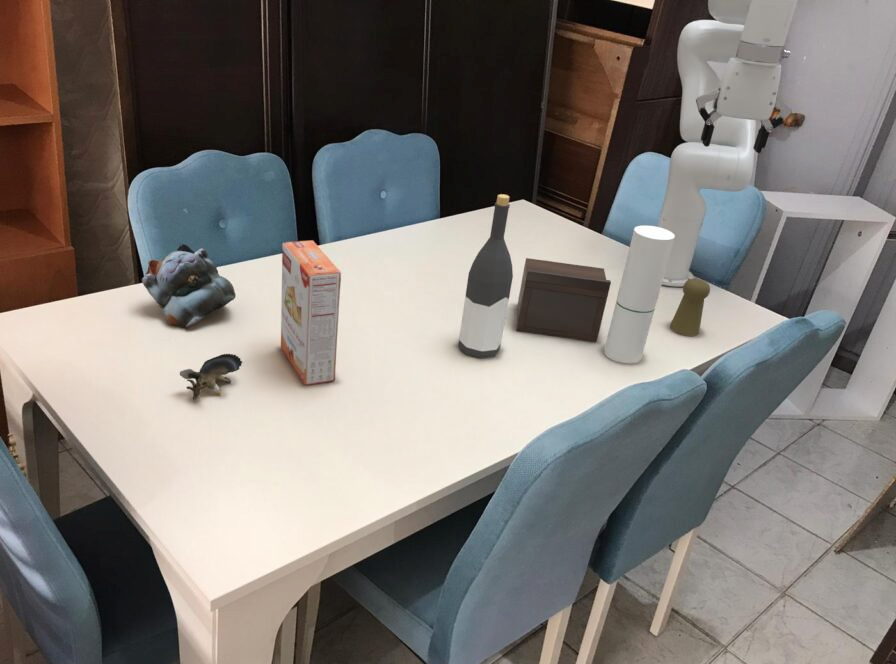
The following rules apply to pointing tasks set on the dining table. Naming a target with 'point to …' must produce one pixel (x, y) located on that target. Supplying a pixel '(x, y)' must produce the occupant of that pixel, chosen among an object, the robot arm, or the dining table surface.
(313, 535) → the dining table surface
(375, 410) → the dining table surface
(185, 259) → the lucky cat figurine
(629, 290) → the cylindrical container
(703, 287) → the olive brown pepper mill
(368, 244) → the dining table surface
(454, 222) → the dining table surface
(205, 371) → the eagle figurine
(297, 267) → the cracker box
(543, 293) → the dark wooden chest
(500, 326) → the wine bottle
